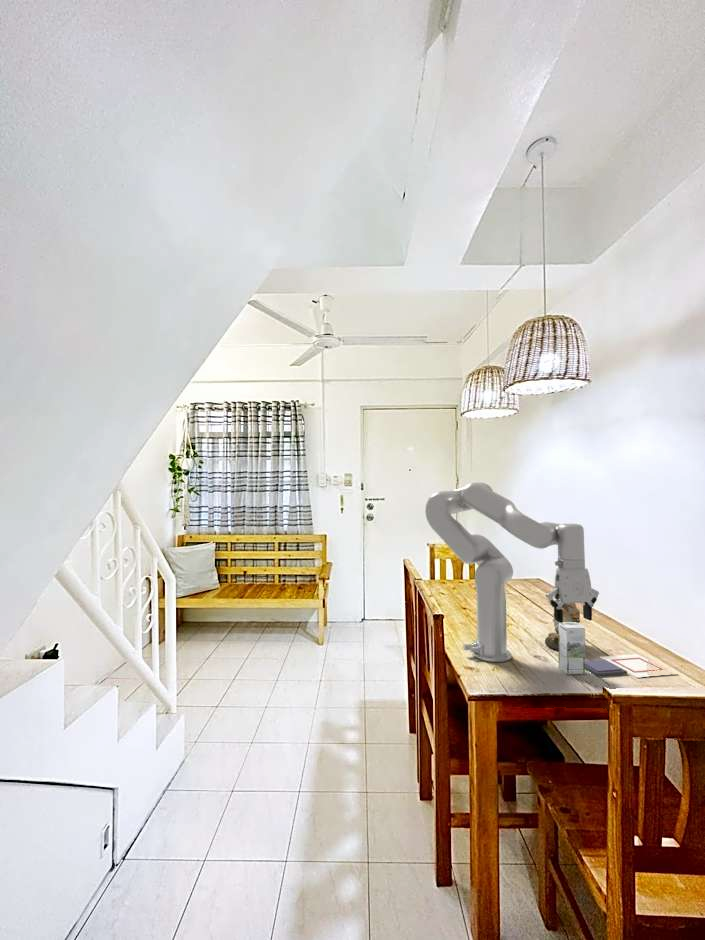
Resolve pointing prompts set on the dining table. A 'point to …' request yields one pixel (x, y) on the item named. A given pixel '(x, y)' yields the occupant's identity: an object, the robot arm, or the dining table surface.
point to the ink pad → (603, 668)
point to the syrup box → (572, 648)
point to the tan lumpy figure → (568, 616)
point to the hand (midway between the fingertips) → (573, 620)
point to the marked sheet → (631, 664)
